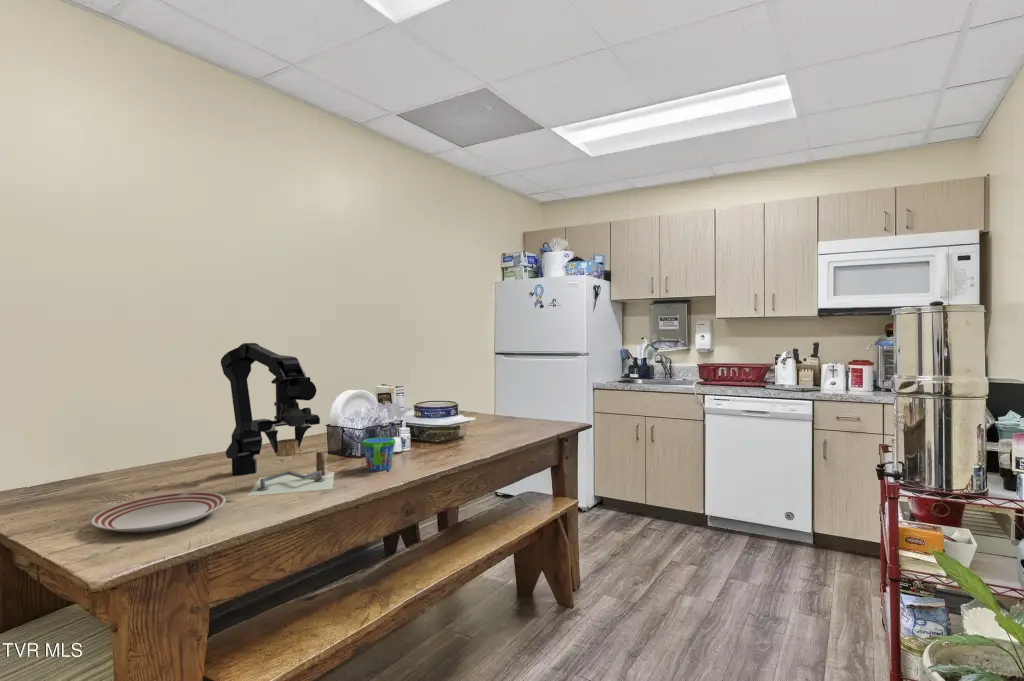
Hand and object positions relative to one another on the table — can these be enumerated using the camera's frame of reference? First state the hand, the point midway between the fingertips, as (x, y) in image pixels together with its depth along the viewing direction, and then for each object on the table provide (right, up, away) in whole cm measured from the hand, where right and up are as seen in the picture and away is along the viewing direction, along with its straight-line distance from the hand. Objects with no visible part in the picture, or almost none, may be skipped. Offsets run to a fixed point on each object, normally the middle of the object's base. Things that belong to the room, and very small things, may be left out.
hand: (286, 451), depth 166 cm
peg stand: (+8, -9, +6) cm, 13 cm away
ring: (0, -1, 0) cm, 1 cm away
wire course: (+3, -10, -2) cm, 11 cm away
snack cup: (+24, -10, +16) cm, 30 cm away
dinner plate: (-17, -11, -32) cm, 38 cm away
